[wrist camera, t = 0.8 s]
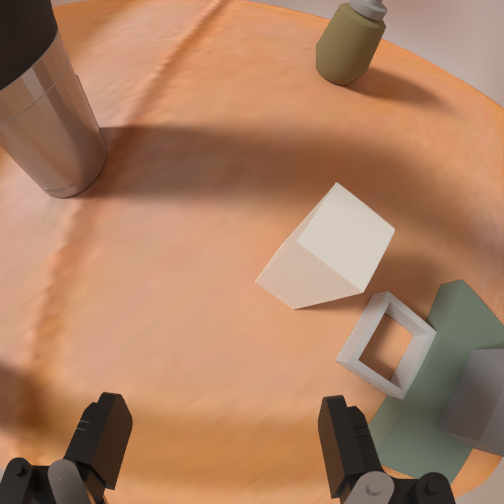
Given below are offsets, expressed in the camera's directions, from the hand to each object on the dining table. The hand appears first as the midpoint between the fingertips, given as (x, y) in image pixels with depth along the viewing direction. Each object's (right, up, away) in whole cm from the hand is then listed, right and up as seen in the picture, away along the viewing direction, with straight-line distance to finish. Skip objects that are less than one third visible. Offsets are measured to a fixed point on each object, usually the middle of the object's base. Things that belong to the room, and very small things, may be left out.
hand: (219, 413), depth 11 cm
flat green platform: (+22, -9, +19) cm, 30 cm away
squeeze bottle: (+14, +33, +28) cm, 45 cm away
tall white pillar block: (+5, +4, +19) cm, 20 cm away
